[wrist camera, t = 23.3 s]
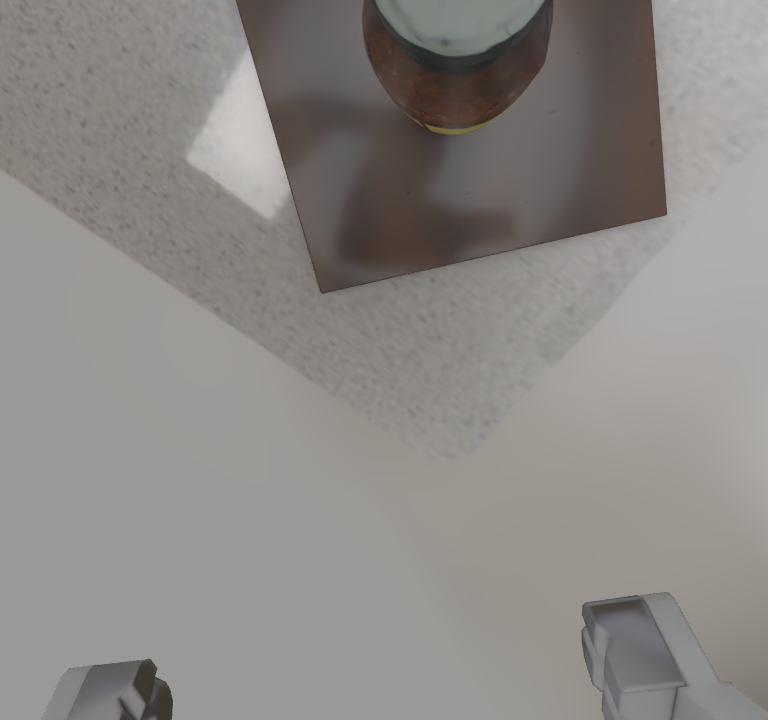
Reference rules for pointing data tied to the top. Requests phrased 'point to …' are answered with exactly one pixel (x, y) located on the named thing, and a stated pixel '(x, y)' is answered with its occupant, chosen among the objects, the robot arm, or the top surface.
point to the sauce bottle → (456, 56)
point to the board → (458, 143)
